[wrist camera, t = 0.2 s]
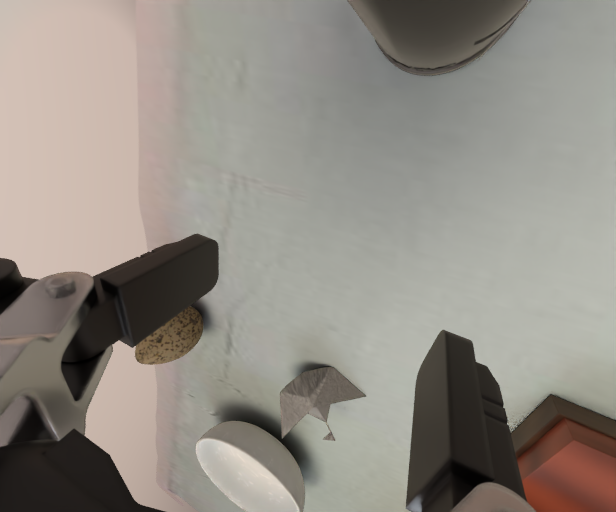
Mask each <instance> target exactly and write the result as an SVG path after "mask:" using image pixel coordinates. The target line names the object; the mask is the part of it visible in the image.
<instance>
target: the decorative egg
mask: <svg viewBox="0 0 616 512" xmlns="http://www.w3.org/2000/svg"><path fill="white" fill-rule="evenodd" d="M202 332H203V320H202V317H201V315H200V313H199V312H198V311H197V310H196V309H195V308H193V307H191V306H189V307H188V308H186V309H185V310H183V311H182V312H181V313H179V314H178V315H177V316H175V317H174V318H173V319H171V320H170V321H168V322H167V323H166V324H164V325H163V326H162V327H160V328H159V329H158V330H156V331H155V332H153V333H152V334H151V335H149V336H148V337H147V338H145V339H144V340H143V341H141V342H140V343H138V344H137V345H136V350H135V357H136V359H137V361H138V362H139V363H141V364H150V365H153V364H162V363H167V362H170V361H173V360H176V359H178V358H180V357H182V356H184V355H185V354H187V353H188V352H189V351H190V350H191V349H192V348H193V347H194V346H195V345H196V344H197V343H198V341H199V339H200V337H201V335H202Z"/></svg>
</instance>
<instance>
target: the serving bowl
mask: <svg viewBox="0 0 616 512" xmlns="http://www.w3.org/2000/svg"><path fill="white" fill-rule="evenodd" d="M196 455H197V458H198V460H199V462H200V464H201V466H202V468H203V470H204V471H205V473H206V474H207V475H208V477H209V478H210V479H211V480H212V481H213V483H214V484H215V485H216V486H217V487H218V488H219V489H220V490H221V491H222V492H223V493H224V494H225V495H226V496H227V497H228V498H229V499H231V500H232V501H233V502H234V503H235V504H237V505H238V506H239V507H241V508H242V509H243V510H245V511H246V512H303V509H304V502H305V487H304V481H303V477H302V473H301V471H300V468H299V466H298V464H297V462H296V461H295V459H294V457H293V456H292V455H291V453H290V452H289V451H288V450H287V448H286V447H285V446H284V445H283V444H282V443H281V442H280V441H278V440H277V439H276V438H275V437H274V436H272V435H271V434H269V433H268V432H266V431H265V430H263V429H261V428H259V427H257V426H255V425H252V424H250V423H246V422H242V421H228V422H223V423H220V424H218V425H216V426H214V427H213V428H211V429H210V430H209V431H207V432H206V433H205V434H204V435H203V436H202V437H201V438H200V439H199V440H198V442H197V444H196Z"/></svg>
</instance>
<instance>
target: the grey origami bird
mask: <svg viewBox="0 0 616 512" xmlns="http://www.w3.org/2000/svg"><path fill="white" fill-rule="evenodd" d="M361 397H365V395H364V394H363V393H362V392H361V391H359V390H358V389H357V388H356V387H355V386H354V385H353V384H352V383H350V382H349V381H348V380H347V379H346V378H345V377H344V376H342V375H341V374H340V373H339V372H338V371H337V370H336V369H334V368H333V367H325V368H319V369H315V370H310V371H306V372H302V373H301V374H300V375H299V376H298V377H296V378H295V379H294V380H293V381H291V382H290V383H289V384H288V385H286V387H285V388H284V389H283V390H282V391H281V392H280V406H281V429H282V438H283V437H284V436H285V435H286V434H287V433H288V432H289V431H290V430H291V429H292V428H293V427H294V426H295V425H296V424H297V423H298V422H299V421H300V420H301V419H302V418H303V417H304V416H305V415H306V414H307V413H308V414H310V415H312V416H314V417H316V418H318V419H320V420H322V421H324V422H326V424H327V418H328V413H329V409H330V404H332V403H337V402H341V401H346V400H351V399H356V398H361ZM327 426H328V424H327ZM328 428H329V426H328ZM329 430H330V428H329ZM323 440H334V441H335V439H334V437H333V434H332V432H331V430H330V433H329V434H328V435H327V436H326V437H324V438H323Z"/></svg>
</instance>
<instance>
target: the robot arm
mask: <svg viewBox="0 0 616 512" xmlns="http://www.w3.org/2000/svg"><path fill="white" fill-rule="evenodd" d="M347 1H348V2H349V4H350V5H351V6H352V8H353V9H354V11H355V12H356V13H357V15H358V16H359V17H360V19H361V20H362V22H363V23H364V24H365V26H366V27H367V29H368V30H369V31H370V33H371V34H372V36H373V37H374V39H375V41H376V43H377V45H378V46H379V48H380V49H381V51H382V52H383V54H384V55H385V56H386V57H387V58H388V60H389V61H390V62H392V63H393V64H394V65H395V66H397V67H398V68H400V69H402V70H404V71H406V72H409V73H412V74H416V75H424V76H430V75H440V74H444V73H448V72H451V71H454V70H456V69H459V68H461V67H463V66H465V65H467V64H469V63H471V62H472V61H474V60H475V59H477V58H478V57H480V56H481V55H482V54H483V55H484V54H485V52H486V51H487V50H489V49H490V48H491V47H492V46H493V45H494V44H495V43H496V42H497V41H498V40H499V39H500V38H501V37H502V36H503V35H504V34H505V32H506V31H507V30H508V29H509V28H510V26H511V25H512V24H513V22H514V21H515V20H516V18H517V17H518V16H519V14H520V13H521V12H522V11H523V9H524V8H525V7H526V6H527V5H528V4H529V3H530V2H531V0H530V1H529V3H528V4H527V5H526V3H527V2H528V0H347ZM525 5H526V6H525ZM483 55H482V56H483ZM482 56H481V57H482ZM481 57H480V58H481ZM480 58H479V59H480ZM218 275H219V274H218V243H217V242H216V241H215V240H212V239H210V238H207V237H205V236H202V235H200V234H194V235H192V236H189V237H187V238H185V239H183V240H181V241H178V242H175V243H171V244H166V245H163V246H161V247H159V248H156V249H154V250H152V252H147V253H145V254H143V255H141V257H136V258H134V259H132V260H129V261H127V262H125V263H123V264H120V265H118V266H116V267H114V268H111V269H109V270H107V271H104V272H102V273H100V274H98V275H95V276H93V277H92V276H90V275H88V274H86V273H82V272H64V273H58V274H54V275H50V276H47V277H44V278H42V279H40V280H38V279H31V278H26V277H22V276H21V274H20V272H19V270H18V267H17V265H16V263H15V262H14V261H12V260H9V259H4V258H0V512H165V511H161V510H157V509H154V508H150V507H146V506H143V505H140V504H138V503H137V502H136V501H135V500H134V499H133V497H132V495H131V494H130V492H129V490H128V488H127V486H126V484H125V483H124V481H123V479H122V477H121V475H120V473H119V471H118V470H117V468H116V466H115V464H114V462H113V460H112V459H111V457H110V455H109V454H108V453H106V452H105V451H104V450H102V449H101V448H100V447H98V446H97V445H96V444H94V443H93V442H92V441H90V440H89V439H88V438H86V437H85V436H84V435H85V419H86V413H87V409H88V406H89V404H90V402H91V399H92V397H93V395H94V393H95V390H96V388H97V386H98V384H99V381H100V379H101V377H102V375H103V373H104V370H105V368H106V366H107V364H108V361H109V359H110V357H111V354H112V352H113V347H112V344H114V343H115V342H117V341H118V340H120V341H122V342H123V343H125V344H127V345H129V346H130V347H132V348H133V347H134V346H136V345H137V344H138V343H140V342H141V341H143V340H144V339H145V338H147V337H148V336H149V335H151V334H152V333H153V332H155V331H156V330H158V329H159V328H160V327H162V326H163V325H164V324H166V323H167V322H168V321H170V320H171V319H173V318H174V317H175V316H177V315H178V314H179V313H181V312H182V311H183V310H185V309H186V308H188V307H189V306H190V305H192V304H193V303H194V302H196V301H197V300H198V299H200V298H201V297H202V296H204V295H205V294H207V293H208V292H209V291H211V290H212V289H213V287H214V286H215V285H216V283H217V280H218ZM503 405H504V404H503V399H502V395H501V391H500V387H499V385H498V383H497V381H496V380H495V378H494V377H493V375H492V374H491V372H490V370H489V369H488V367H487V366H485V365H482V364H480V363H477V362H476V360H475V354H474V348H473V343H472V341H471V340H468V339H466V338H463V337H461V336H458V335H456V334H453V333H450V332H448V331H445V330H442V331H441V332H440V333H439V335H438V336H437V338H436V340H435V342H434V343H433V345H432V347H431V349H430V350H429V352H428V354H427V356H426V357H425V359H424V361H423V363H422V365H421V367H420V369H419V372H418V376H417V380H416V388H415V400H414V413H413V425H412V438H411V450H410V462H409V475H408V487H407V499H406V509H408V510H409V511H411V512H536V511H535V510H534V508H533V507H532V506H531V505H530V504H529V503H528V502H527V499H526V496H525V492H524V487H523V483H522V479H521V475H520V471H519V467H518V462H517V458H516V454H515V450H514V446H513V441H512V437H511V433H510V429H509V425H507V421H508V420H507V416H506V412H505V408H503Z"/></svg>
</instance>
